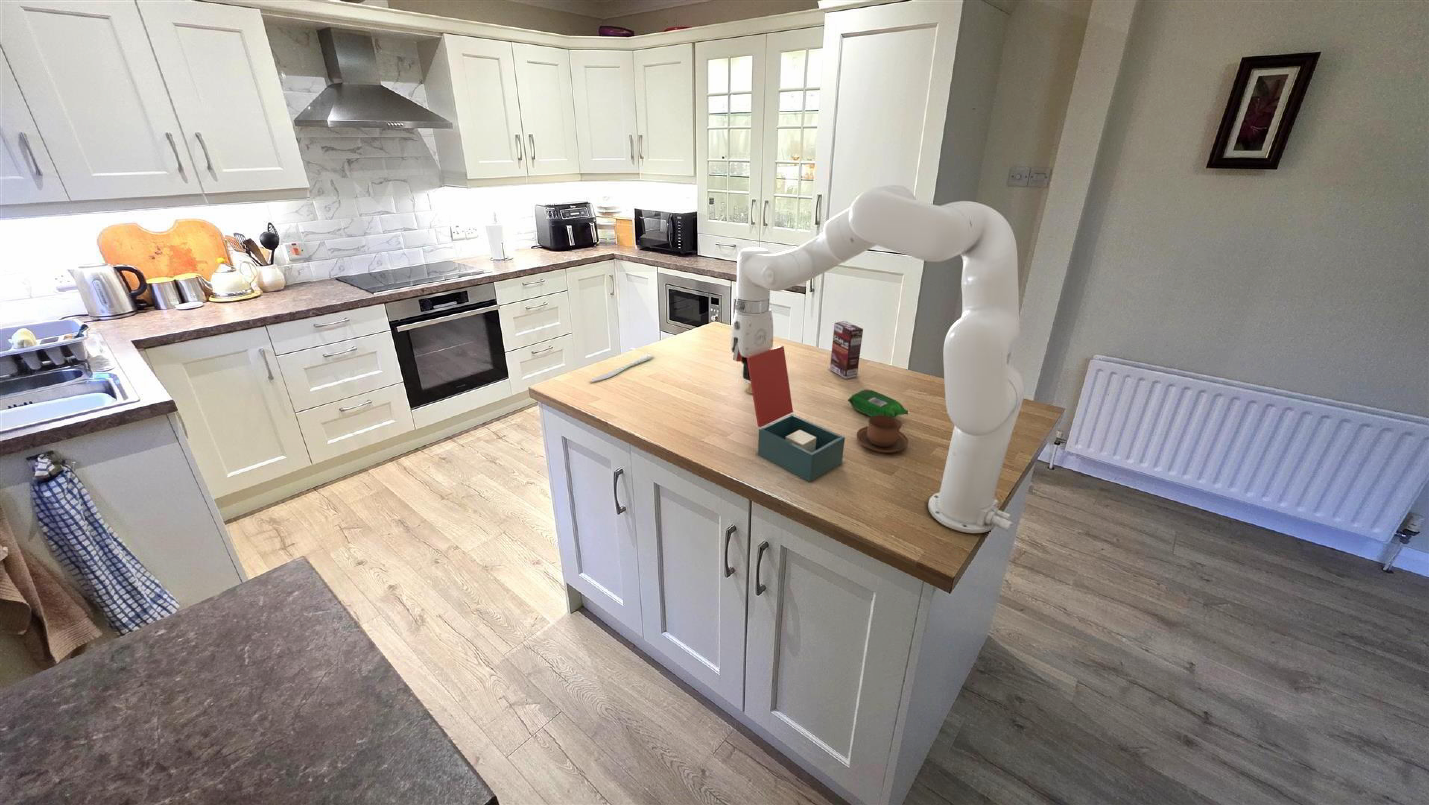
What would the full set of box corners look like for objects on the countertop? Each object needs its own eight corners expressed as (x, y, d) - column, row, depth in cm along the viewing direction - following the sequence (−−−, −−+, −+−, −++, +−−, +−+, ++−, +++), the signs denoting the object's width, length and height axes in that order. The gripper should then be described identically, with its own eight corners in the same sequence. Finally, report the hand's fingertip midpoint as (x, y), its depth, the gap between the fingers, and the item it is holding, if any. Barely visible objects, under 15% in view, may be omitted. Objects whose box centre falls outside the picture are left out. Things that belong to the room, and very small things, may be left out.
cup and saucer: (868, 427, 141) (871, 406, 138) (914, 442, 134) (918, 420, 132) (847, 445, 133) (850, 423, 130) (894, 462, 126) (898, 439, 123)
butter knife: (656, 356, 185) (649, 354, 186) (594, 382, 165) (588, 380, 167) (656, 358, 185) (649, 355, 186) (595, 384, 166) (588, 381, 167)
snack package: (890, 429, 140) (893, 411, 138) (844, 407, 152) (846, 389, 150) (908, 422, 144) (911, 404, 142) (861, 400, 156) (864, 384, 153)
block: (814, 456, 127) (816, 437, 125) (800, 463, 124) (802, 444, 122) (798, 448, 130) (799, 429, 128) (784, 455, 127) (785, 436, 125)
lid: (783, 345, 129) (781, 345, 129) (749, 357, 122) (746, 357, 122) (793, 412, 133) (790, 411, 133) (760, 427, 126) (757, 427, 126)
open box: (841, 463, 126) (845, 437, 123) (809, 482, 119) (812, 455, 116) (790, 438, 136) (791, 413, 133) (757, 454, 129) (758, 428, 126)
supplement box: (828, 369, 176) (833, 322, 169) (841, 367, 178) (846, 320, 171) (845, 379, 169) (851, 330, 162) (857, 377, 171) (864, 328, 164)
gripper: (740, 314, 117) (738, 392, 125) (787, 302, 126) (782, 375, 134) (717, 307, 122) (716, 382, 130) (763, 296, 131) (760, 367, 139)
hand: (750, 379), depth 132 cm, fingers closed
